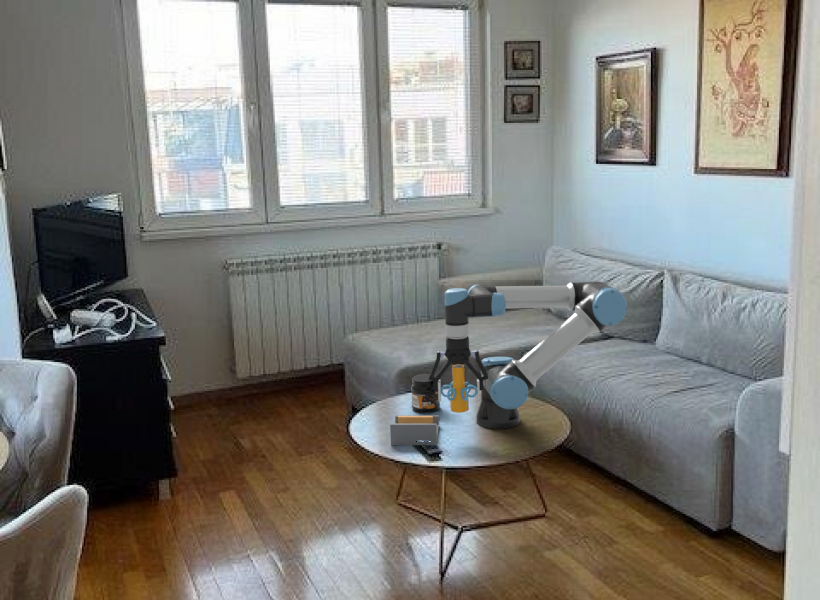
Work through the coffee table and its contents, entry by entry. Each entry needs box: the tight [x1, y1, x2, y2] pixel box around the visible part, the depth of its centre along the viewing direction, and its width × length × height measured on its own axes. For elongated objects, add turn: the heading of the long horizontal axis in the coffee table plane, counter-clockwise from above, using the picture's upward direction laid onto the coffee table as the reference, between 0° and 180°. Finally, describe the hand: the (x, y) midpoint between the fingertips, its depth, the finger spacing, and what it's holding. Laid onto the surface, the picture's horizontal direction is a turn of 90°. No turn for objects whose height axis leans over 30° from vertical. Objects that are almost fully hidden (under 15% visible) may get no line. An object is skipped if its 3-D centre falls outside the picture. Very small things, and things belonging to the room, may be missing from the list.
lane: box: [389, 414, 440, 446], centre depth 283 cm, size 15×18×7 cm
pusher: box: [398, 416, 433, 423], centre depth 284 cm, size 12×1×6 cm, turn 86°
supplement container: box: [410, 373, 441, 414], centre depth 309 cm, size 10×10×12 cm
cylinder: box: [441, 364, 477, 414], centre depth 277 cm, size 12×10×15 cm
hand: (459, 399), depth 277 cm, fingers closed on cylinder, 12 cm apart
